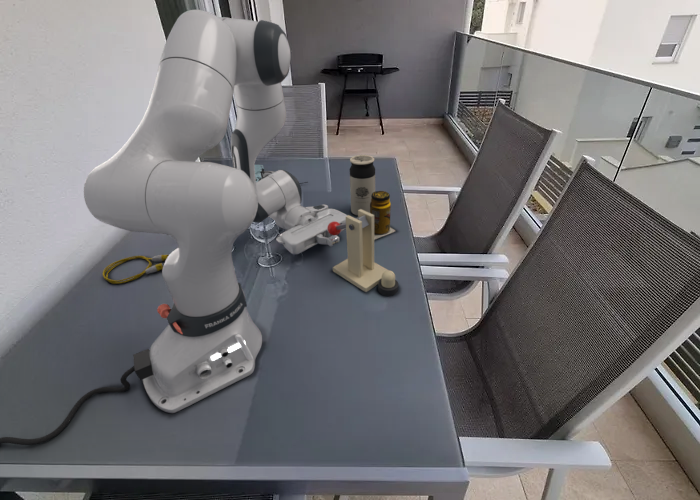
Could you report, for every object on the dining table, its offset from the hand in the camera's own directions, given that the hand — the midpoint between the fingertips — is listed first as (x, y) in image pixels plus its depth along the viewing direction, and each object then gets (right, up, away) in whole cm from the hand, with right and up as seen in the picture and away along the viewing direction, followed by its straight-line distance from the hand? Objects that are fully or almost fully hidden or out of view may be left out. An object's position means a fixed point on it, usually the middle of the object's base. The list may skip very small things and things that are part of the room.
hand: (335, 241), depth 92 cm
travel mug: (+8, +11, +25) cm, 28 cm away
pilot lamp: (+13, -12, -8) cm, 19 cm away
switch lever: (+4, +2, -6) cm, 7 cm away
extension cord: (-54, -8, +2) cm, 55 cm away
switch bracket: (+7, -8, -3) cm, 11 cm away
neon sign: (-27, +25, +48) cm, 60 cm away
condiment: (+12, +4, +14) cm, 19 cm away
